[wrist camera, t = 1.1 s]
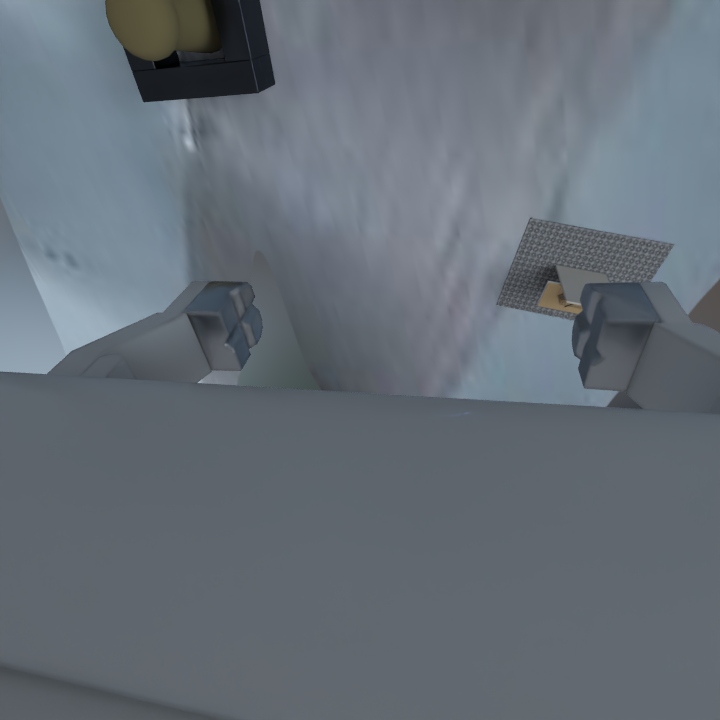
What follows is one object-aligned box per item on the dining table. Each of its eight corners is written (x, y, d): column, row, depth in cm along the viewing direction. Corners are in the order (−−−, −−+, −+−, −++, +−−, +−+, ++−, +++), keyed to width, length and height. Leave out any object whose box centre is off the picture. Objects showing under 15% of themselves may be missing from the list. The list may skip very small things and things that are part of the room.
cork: (183, 57, 42) (115, 74, 34) (157, -25, 38) (73, -28, 30) (239, 49, 41) (182, 65, 33) (218, -37, 37) (148, -43, 29)
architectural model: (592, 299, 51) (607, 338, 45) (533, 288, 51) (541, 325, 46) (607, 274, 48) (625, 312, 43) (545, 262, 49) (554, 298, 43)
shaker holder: (114, -68, 37) (79, -74, 34) (242, -91, 35) (218, -99, 31) (167, 93, 45) (143, 102, 41) (275, 84, 42) (258, 93, 39)
